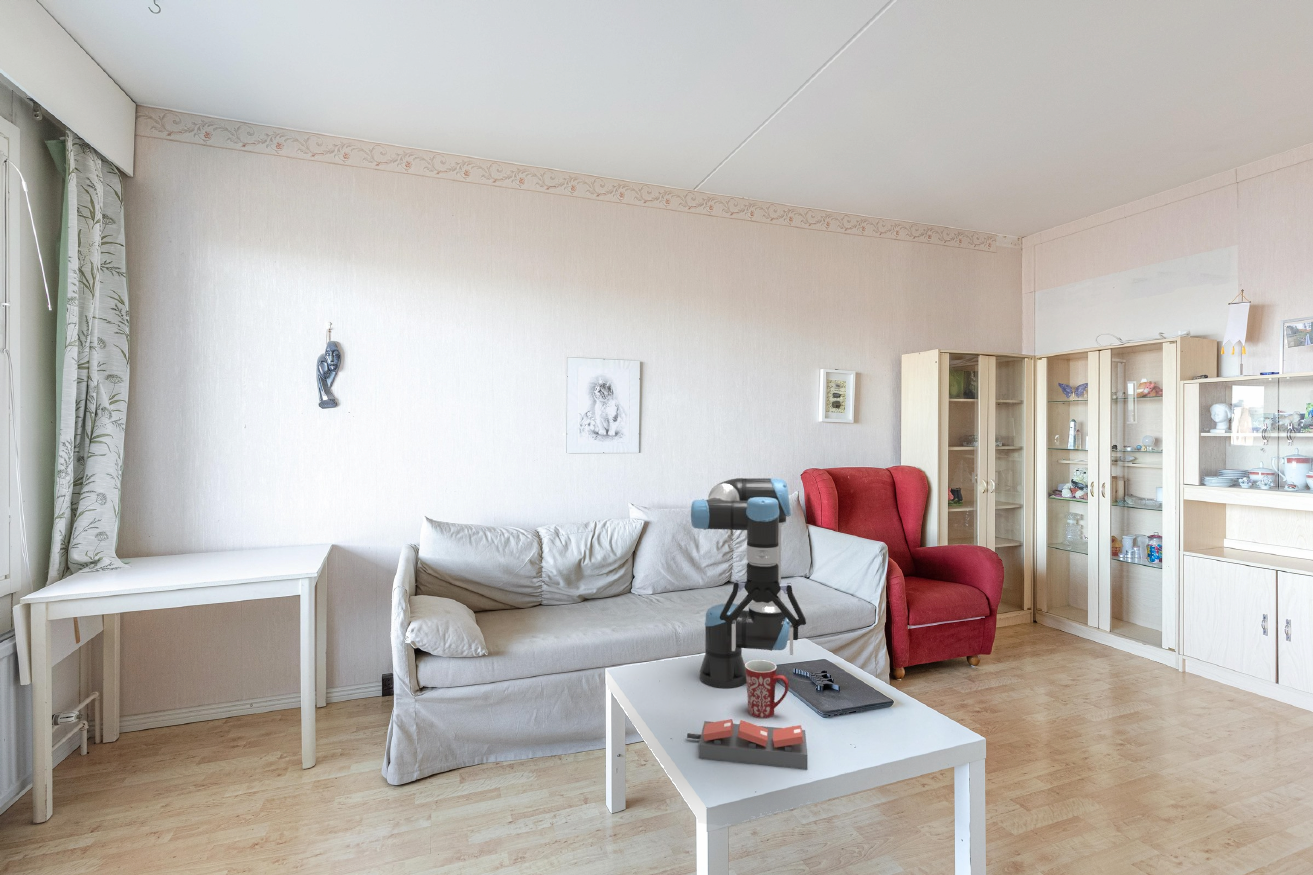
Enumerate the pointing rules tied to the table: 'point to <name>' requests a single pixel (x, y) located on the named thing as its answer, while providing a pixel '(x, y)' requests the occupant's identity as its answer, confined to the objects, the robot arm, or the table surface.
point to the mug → (762, 687)
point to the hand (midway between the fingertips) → (762, 651)
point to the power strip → (752, 750)
